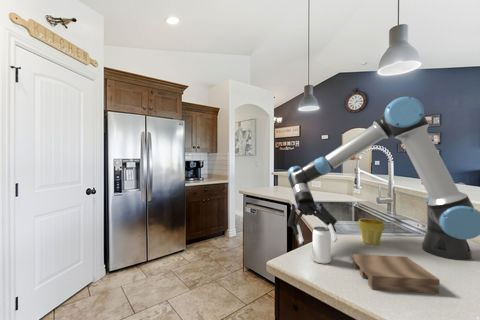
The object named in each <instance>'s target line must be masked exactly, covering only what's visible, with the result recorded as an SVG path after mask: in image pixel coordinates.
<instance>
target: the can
mask: <svg viewBox="0 0 480 320" xmlns="http://www.w3.org/2000/svg"><path fill="white" fill-rule="evenodd" d="M329 230H330V229H329V228H327V227H325V226H314V227H313V231H312V260H313V261H314V262H315V263H318V264H321V265H328V264H330V263H331V262H332V238H331V233H330V231H329Z"/></svg>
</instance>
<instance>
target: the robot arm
mask: <svg viewBox="0 0 480 320" xmlns="http://www.w3.org/2000/svg"><path fill="white" fill-rule="evenodd" d="M429 126H430V124H429V122H428V119H427V118H426V116H425V108H424V105H423V104H422V102H421V101H420V100H419V99H418V98H415V97H411V96H401V97H397V98H395V99H393V100H392V101H391V102H390V103H388V105H386V108H384V113H383V114H382V115H381V116H380V117H378V118H377V119H376V120H374V121H373V123H372V125H371V126H369V127H368V128H366V129H364V130H363V131H361V132H360V133H358V134H357V135H356V136H354V137H352V138H350V139H349V140H348V141H346V142H345V143H343V144H341V145H340V146H338V147H337V148H335V149H334V150H333V151H330V153H328V154H326V155H325V156H320V157H318V158H315V159H314V160H313V161H311V162H309V163H307V164H306V165H304V166H302V167H301V166H299V165H294V166H291V167H290V168H289V169H288V170H287V173H286V174H287V177H288V178H287V179H288V182H289V184H290V187H291V190H292V191H291V192H292V194H293V196H294V201H295V204H296V205H295V204H294V203H292V204H291V206H290V214H289V218H288V222H287V227H291V229H292V230H293V232H294V233H293V234H294V235H295V236H297V239H298V242H299V243H298V244H299V245H302V244H303V242H304V241H305V240H304V238H303V234H302V230H301V227H300V224H298V223H299V222H300V219H301V218H302V216H303V215H304V216H306V217H307V216H314V217H316V218H318V219H319V220H320V221H322V222H323V223H324V224H325V225H327V227H326V228H329V229H330V230H329V231H330V233H331V241H332V243H336V242H337V240H338V236H337V234H336V232H337V229H336V227H335V225H336V223H337V222H338V220H337V219H336V217H334V216H333V215H332V214H331V213H330V211H329V210H327V209H326V208H325V206H324V204H323V203H321V202H320V203H319V204H315V199H314V197H313V194H312V192H311V189H310V185H309V184H308V183H310V182H312V181H314V180H316V179H318V178H320V177H324V176H325V175H327V174H328V173H330V172H332V171H333V170H334V169H337V168H338V167H339V166H341V165H343V164H345V162H346V163H347V162H348V161H349V160H350V159H352V158H354V157H356V156H357V155H359V154H360V153H362V152H363V151H365V150H367V149H369V148H370V147H372V146H373V145H375V144H376V143H378V142H380V141H381V140H383V139H386V140H387V139H389V138H391V137H394V139H396V140H399V141H400V142H401V144H402V145H403V147H404V149H405V152H406V153H407V155H408V157H409V159H410V161H411V163H412V165H413V166H414V169H415V171H416V173H417V175H418V177H419V179H420V180H421V183H422V185H423V187H424V189H425V191H426V193H427V195H428V196H427V199H426V200H427V201H426V204H427V205H426V210H427V215H426V216H427V217H426V218H427V219H426V222H427V224H426V225H427V227H426V228H427V229H426V233H425V236H424V238H423V240H422V243H421V247H422V248H421V249H422V250H423V251H425V252H427V253H428V254H431V255H434V256H437V257H442V258H446V259H451V260H460V261H461V260H466V261H467V260H470V259H472V250H471V248H470V245H469V243H468V241H467V240H472V239H475V238H477V237H479V236H480V211H479V210H478V209H476V208H475V207H474V205H473V203H472V201H471V200H470V198H469V196H468V194H466V193H464V192H462V191H460V190H459V189H458V186H457V185H456V183H455V181H454V180H453V178H452V175H451V174H450V171H449V170H448V168H447V167H446V164H445V163H444V160H443V159H442V157H441V155H440V153H439V151H438V149H437V147H436V146H435V144H434V142H433V140H432V137H430V134H429V133H428V128H429ZM296 210H298V212H299V213H298V215H297V217H296V219H295V220H294V216H295V212H296ZM293 221H294V222H293Z"/></svg>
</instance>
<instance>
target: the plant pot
mask: <svg viewBox="0 0 480 320" xmlns="http://www.w3.org/2000/svg"><path fill="white" fill-rule="evenodd" d="M358 228H359V229H360V232H361V233H360V235H361V239H362V243H364V244H367V245H374V246H375V245H377V246H378V245H380V242H381V239H382V234H383V232H384V231H385V222H384V221H382V220H379V219H374V218H360V219H358Z"/></svg>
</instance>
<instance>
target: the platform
mask: <svg viewBox="0 0 480 320" xmlns="http://www.w3.org/2000/svg"><path fill="white" fill-rule="evenodd" d="M352 267H353V268H354V269H355V270H359V275H360V277H361V278H362V279H367V286H368V287H369V288H370V289H371V290H380V291H393V292H395V291H398V292H410V293H411V292H415V293H427V292H434V293H433V294H439V293H440V284H441V283H440V282H441V281H440V280H441V279H440V278H439V277H437V276H435V275H434V274H432V273H431V272H429V271H428V270H427V269H425V268H423V267H422V266H421V265H419V264H418V263H416V262H415V261H414V260H413V259H411V258H409V257H408V256H402V255H401V256H398V255H380V254H379V255H378V254H376V255H375V254H357V253H356V254H353V253H352Z"/></svg>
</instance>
